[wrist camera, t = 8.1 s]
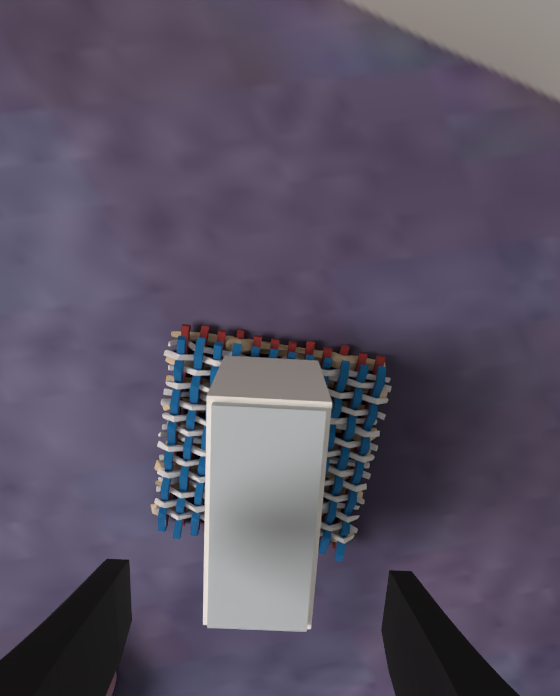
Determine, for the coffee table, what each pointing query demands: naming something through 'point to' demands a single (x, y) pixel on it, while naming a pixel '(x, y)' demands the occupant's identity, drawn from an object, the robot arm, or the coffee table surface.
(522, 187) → the coffee table surface
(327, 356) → the woven mat
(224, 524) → the painted block
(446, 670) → the robot arm
